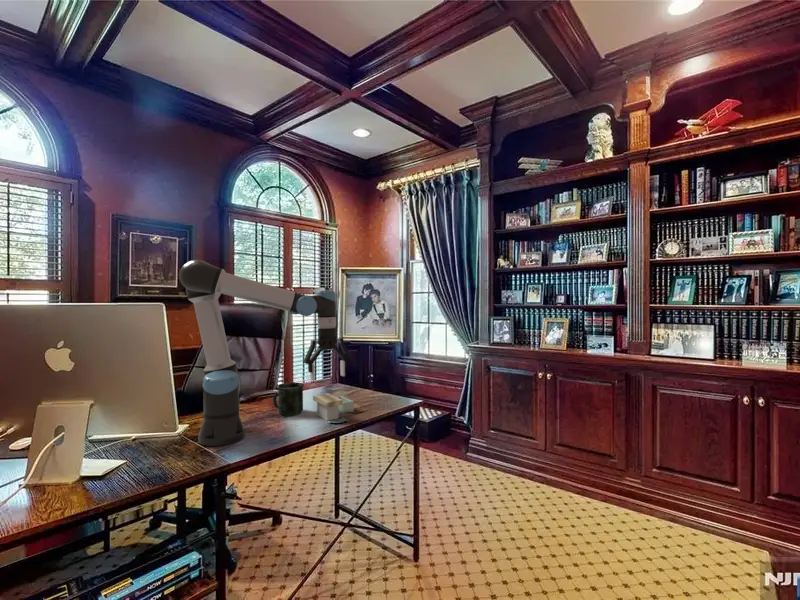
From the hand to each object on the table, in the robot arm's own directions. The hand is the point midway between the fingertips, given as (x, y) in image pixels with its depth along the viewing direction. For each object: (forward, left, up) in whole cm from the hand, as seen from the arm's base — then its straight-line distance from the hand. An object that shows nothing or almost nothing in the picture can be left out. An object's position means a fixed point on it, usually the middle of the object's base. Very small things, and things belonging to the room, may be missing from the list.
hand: (328, 378), depth 173 cm
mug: (-12, +15, -17) cm, 25 cm away
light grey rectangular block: (0, 0, -16) cm, 16 cm away
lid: (0, 0, -10) cm, 10 cm away
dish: (+10, +7, -16) cm, 20 cm away
